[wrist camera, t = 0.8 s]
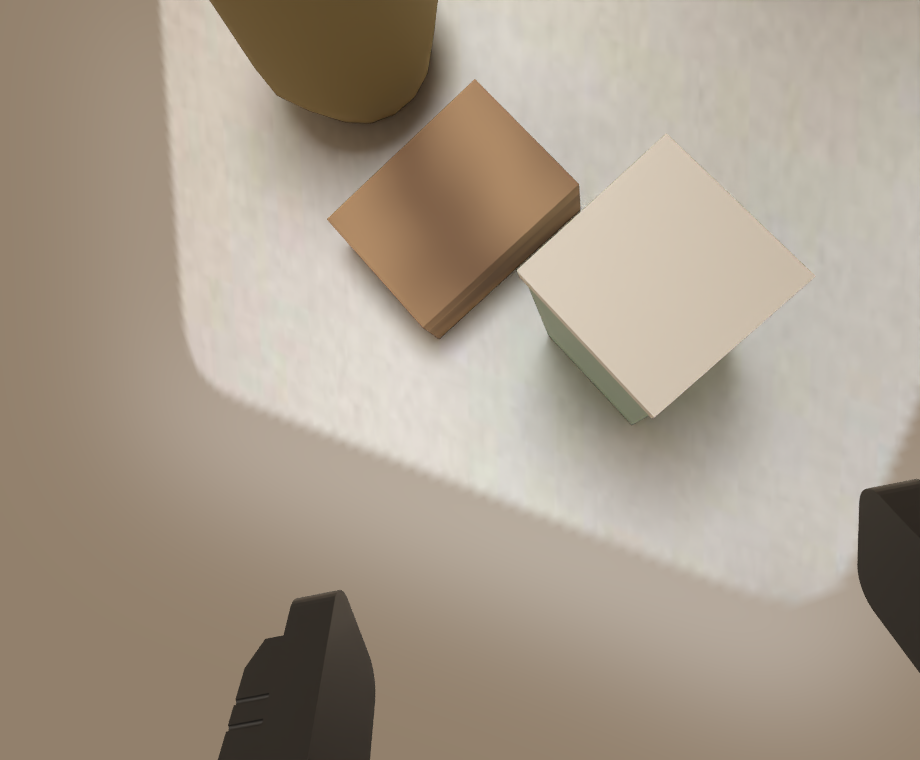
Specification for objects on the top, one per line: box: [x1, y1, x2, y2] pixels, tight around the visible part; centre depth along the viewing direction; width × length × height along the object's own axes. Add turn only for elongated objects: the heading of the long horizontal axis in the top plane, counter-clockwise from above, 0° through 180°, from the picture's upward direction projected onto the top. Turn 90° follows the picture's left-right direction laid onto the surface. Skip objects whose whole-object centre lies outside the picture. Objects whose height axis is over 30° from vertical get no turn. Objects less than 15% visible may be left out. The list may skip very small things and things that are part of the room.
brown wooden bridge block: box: [327, 79, 580, 339], centre depth 30 cm, size 8×6×3 cm
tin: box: [517, 133, 815, 425], centre depth 24 cm, size 5×5×11 cm
